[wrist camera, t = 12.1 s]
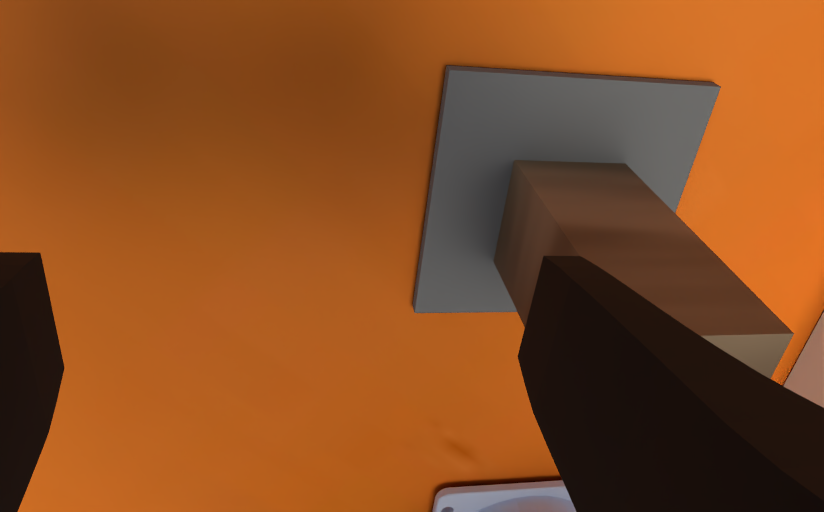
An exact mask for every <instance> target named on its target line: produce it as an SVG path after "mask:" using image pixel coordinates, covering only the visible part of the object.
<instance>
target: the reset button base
mask: <svg viewBox="0 0 824 512" xmlns="http://www.w3.org/2000/svg"><path fill="white" fill-rule="evenodd" d="M783 387H785V388H787V389H789V390H791V391H793V392H795V393H797V394H799V395H800V396H802V397H804V398H806V399H808V400H810V401H812V402H814V403H816V404H817V405H819V406H821V407H823V408H824V312H823V314H822V316H821V318H820V319H819V321H818V323H817V325H816V327H815V329H814V330H813V332H812V334H811V336H810V338H809V340H808V342H807V343H806V345H805V347H804V349H803V351H802V353H801V354H800V356H799V358H798V360H797V362H796V364H795V365H794V367H793V369H792V371H791V373H790V375H789V377H788V378H787V380H786V382H785V384H784V386H783Z"/></svg>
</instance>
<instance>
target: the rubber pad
mask: <svg viewBox="0 0 824 512" xmlns="http://www.w3.org/2000/svg"><path fill="white" fill-rule="evenodd" d="M720 88H721V87H720V86H719V85H717V84H715V83H714V82H701V81H686V80H670V79H654V78H638V77H623V76H607V75H591V74H576V73H560V72H544V71H528V70H513V69H497V68H481V67H465V66H450V65H446V73H445V80H444V87H443V94H442V101H441V108H440V115H439V122H438V129H437V136H436V143H435V151H434V158H433V165H432V172H431V179H430V186H429V193H428V200H427V207H426V214H425V221H424V229H423V236H422V243H421V250H420V257H419V264H418V271H417V278H416V285H415V292H414V299H413V309H414V312H415V313H459V312H517V310H516V308H515V306H514V303H513V301H512V299H511V297H510V295H509V293H508V291H507V289H506V287H505V285H504V283H503V281H502V279H501V276H500V274H499V272H498V270H497V268H496V266H495V264H494V262H493V261H494V256H495V251H496V246H497V241H498V236H499V231H500V227H501V222H502V217H503V212H504V207H505V202H506V197H507V192H508V188H509V183H510V178H511V173H512V168H513V163H514V160H530V161H562V162H593V163H625V164H627V165H628V166H629V167H630V168H631V169H632V171H633V172H634V173H635V174H636V175H637V176H638V177H639V178H640V179H641V180H642V181H643V182H644V183H645V184H646V185H647V186H648V187H649V188H650V189H651V190H652V191H653V192H654V193H655V194H656V195H657V196H658V197H659V198H660V199H661V200H662V201H663V202H664V203H665V204H666V205H667V206H668V207H669V208H670V209H671V210H672V211H673V212H674V213H675V212H676V209H677V206H678V204H679V201H680V198H681V195H682V192H683V190H684V187H685V184H686V181H687V179H688V176H689V173H690V170H691V168H692V165H693V162H694V159H695V157H696V154H697V151H698V148H699V146H700V143H701V140H702V137H703V135H704V132H705V129H706V126H707V124H708V121H709V118H710V115H711V113H712V110H713V107H714V104H715V102H716V99H717V96H718V93H719V90H720Z"/></svg>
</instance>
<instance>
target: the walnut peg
mask: <svg viewBox="0 0 824 512" xmlns="http://www.w3.org/2000/svg"><path fill="white" fill-rule="evenodd" d="M543 256H581V257H583V258H585V259H586V260H588V261H590V262H592V263H593V264H595V265H597V266H598V267H600V268H601V269H603V270H604V271H606V272H607V273H609V274H610V275H612V276H613V277H615V278H616V279H618V280H619V281H621V282H622V283H624V284H625V285H627V286H628V287H629V288H631V289H632V290H634V291H635V292H637V293H638V294H640V295H641V296H642V297H644V298H645V299H647V300H648V301H650V302H651V303H653V304H654V305H655V306H657V307H658V308H660V309H661V310H663V311H664V312H666V313H667V314H669V315H670V316H671V317H673V318H674V319H676V320H677V321H679V322H680V323H682V324H683V325H685V326H686V327H688V328H689V329H691V330H692V331H694V332H695V333H697V334H698V335H700V336H701V337H703V338H704V339H706V340H707V341H709V342H711V343H712V344H714V345H715V346H717V347H718V348H720V349H722V350H723V351H725V352H726V353H728V354H730V355H731V356H733V357H735V358H736V359H738V360H739V361H741V362H743V363H744V364H746V365H748V366H749V367H751V368H752V369H754V370H756V371H757V372H759V373H761V374H762V375H764V376H766V377H768V378H769V379H771V377H772V375H773V373H774V371H775V369H776V367H777V365H778V363H779V361H780V359H781V357H782V356H783V354H784V352H785V350H786V348H787V346H788V344H789V342H790V340H791V338H792V336H793V334H794V333H793V332H792V331H791V330H790V329H789V328H788V327H787V326H786V325H785V324H784V323H783V322H782V321H781V320H780V319H779V318H778V317H777V316H776V315H775V314H774V313H773V312H772V311H771V310H770V309H769V308H768V307H767V306H766V305H765V304H764V303H763V302H762V301H761V300H760V299H759V298H758V297H757V296H756V295H755V294H754V293H753V292H752V291H751V290H750V289H749V288H748V287H747V286H746V285H745V284H744V283H743V282H742V281H741V280H740V279H739V278H738V277H737V276H736V275H735V274H734V273H733V272H732V271H731V270H730V269H729V268H728V266H727V265H726V264H725V263H724V262H723V261H722V260H721V259H720V258H719V257H718V256H717V255H716V254H715V253H714V252H713V251H712V250H711V249H710V248H709V247H708V246H707V245H706V244H705V243H704V242H703V241H702V240H701V239H700V238H699V237H698V236H697V235H696V234H695V233H694V232H693V231H692V230H691V229H690V228H689V227H688V226H687V225H686V224H685V223H684V222H683V221H682V220H681V219H680V218H679V217H678V216H677V215H676V214H675V213H674V212H673V211H672V210H671V209H670V208H669V207H668V206H667V205H666V204H665V203H664V202H663V201H662V200H661V199H660V198H659V197H658V196H657V195H656V194H655V193H654V192H653V191H652V190H651V189H650V188H649V187H648V186H647V185H646V184H645V183H644V182H643V181H642V180H641V179H640V178H639V177H638V176H637V175H636V174H635V173H634V172H633V171H632V169H631V168H630V167H629V166H628V165H627V164H625V163H593V162H562V161H530V160H514V163H513V168H512V173H511V178H510V183H509V188H508V192H507V197H506V202H505V207H504V212H503V217H502V222H501V227H500V231H499V236H498V241H497V246H496V251H495V256H494V261H493V262H494V264H495V266H496V268H497V270H498V272H499V274H500V276H501V279H502V281H503V283H504V285H505V287H506V289H507V291H508V293H509V295H510V297H511V299H512V301H513V303H514V306H515V308H516V310H517V312H518V314H519V316H520V318H521V320H522V322H523V324H524V326H526V322H527V318H528V314H529V310H530V307H531V303H532V299H533V295H534V291H535V287H536V283H537V279H538V275H539V271H540V267H541V263H542V260H543Z"/></svg>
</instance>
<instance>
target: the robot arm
mask: <svg viewBox="0 0 824 512" xmlns="http://www.w3.org/2000/svg"><path fill="white" fill-rule="evenodd" d="M518 359H519V363H520V367H521V371H522V375H523V379H524V382H525V386H526V390H527V393H528V396H529V400H530V403H531V407H532V410H533V413H534V415H535V418H536V420H537V423H538V425H539V427H540V430H541V432H542V434H543V437H544V439H545V441H546V444H547V446H548V448H549V451H550V453H551V455H552V458H553V460H554V462H555V464H556V467H557V469H558V471H559V473H560V476H561V478H562V480H557V481H542V482H526V483H511V484H495V485H480V486H464V487H449V488H444V489H442V490H440V491H439V492H438V493H437V494H436V496H435V501H434V506H433V511H432V512H824V408H823V407H821V406H819V405H817V404H816V403H814V402H812V401H810V400H808V399H806V398H804V397H802V396H800V395H799V394H797V393H795V392H793V391H791V390H789V389H787V388H785V387H783V386H782V385H780V384H778V383H776V382H775V381H773V380H771V379H769V378H768V377H766V376H764V375H762V374H761V373H759V372H757V371H756V370H754V369H752V368H751V367H749V366H748V365H746V364H744V363H743V362H741V361H739V360H738V359H736V358H735V357H733V356H731V355H730V354H728V353H726V352H725V351H723V350H722V349H720V348H718V347H717V346H715V345H714V344H712V343H711V342H709V341H707V340H706V339H704V338H703V337H701V336H700V335H698V334H697V333H695V332H694V331H692V330H691V329H689V328H688V327H686V326H685V325H683V324H682V323H680V322H679V321H677V320H676V319H674V318H673V317H671V316H670V315H669V314H667V313H666V312H664V311H663V310H661V309H660V308H658V307H657V306H655V305H654V304H653V303H651V302H650V301H648V300H647V299H645V298H644V297H642V296H641V295H640V294H638V293H637V292H635V291H634V290H632V289H631V288H629V287H628V286H627V285H625V284H624V283H622V282H621V281H619V280H618V279H616V278H615V277H613V276H612V275H610V274H609V273H607V272H606V271H604V270H603V269H601V268H600V267H598V266H597V265H595V264H593V263H592V262H590V261H588V260H586V259H585V258H583V257H581V256H543V260H542V263H541V267H540V271H539V275H538V279H537V283H536V287H535V291H534V295H533V299H532V303H531V307H530V310H529V314H528V318H527V322H526V326H525V330H524V334H523V338H522V342H521V346H520V350H519V354H518ZM63 371H64V364H63V359H62V354H61V350H60V345H59V340H58V335H57V330H56V326H55V321H54V316H53V311H52V307H51V302H50V297H49V292H48V287H47V283H46V278H45V273H44V268H43V264H42V259H41V254H40V253H14V252H0V512H17V511H18V509H19V506H20V504H21V501H22V499H23V497H24V494H25V492H26V489H27V487H28V484H29V482H30V479H31V477H32V474H33V471H34V469H35V466H36V464H37V461H38V459H39V456H40V454H41V451H42V449H43V446H44V443H45V441H46V438H47V435H48V433H49V429H50V425H51V421H52V418H53V414H54V410H55V406H56V402H57V398H58V393H59V389H60V385H61V380H62V376H63Z"/></svg>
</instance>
